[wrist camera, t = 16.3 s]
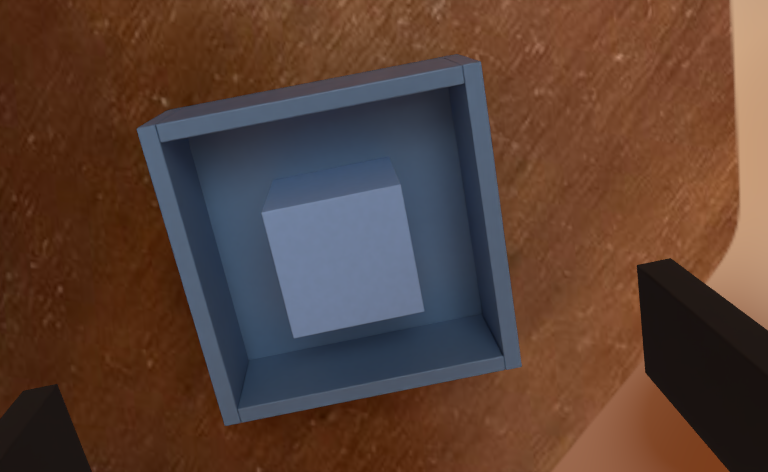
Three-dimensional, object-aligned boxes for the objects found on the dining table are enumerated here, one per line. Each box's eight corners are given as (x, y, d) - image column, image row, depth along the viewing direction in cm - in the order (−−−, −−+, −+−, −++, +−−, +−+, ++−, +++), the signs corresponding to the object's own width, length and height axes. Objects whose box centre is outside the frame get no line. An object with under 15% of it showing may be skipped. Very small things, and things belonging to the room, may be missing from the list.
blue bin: (457, 53, 34) (481, 61, 29) (495, 318, 39) (522, 367, 33) (166, 110, 34) (135, 128, 29) (239, 369, 38) (224, 426, 33)
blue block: (389, 156, 35) (400, 184, 29) (410, 265, 37) (424, 311, 31) (272, 180, 35) (261, 212, 29) (299, 288, 37) (293, 338, 31)
